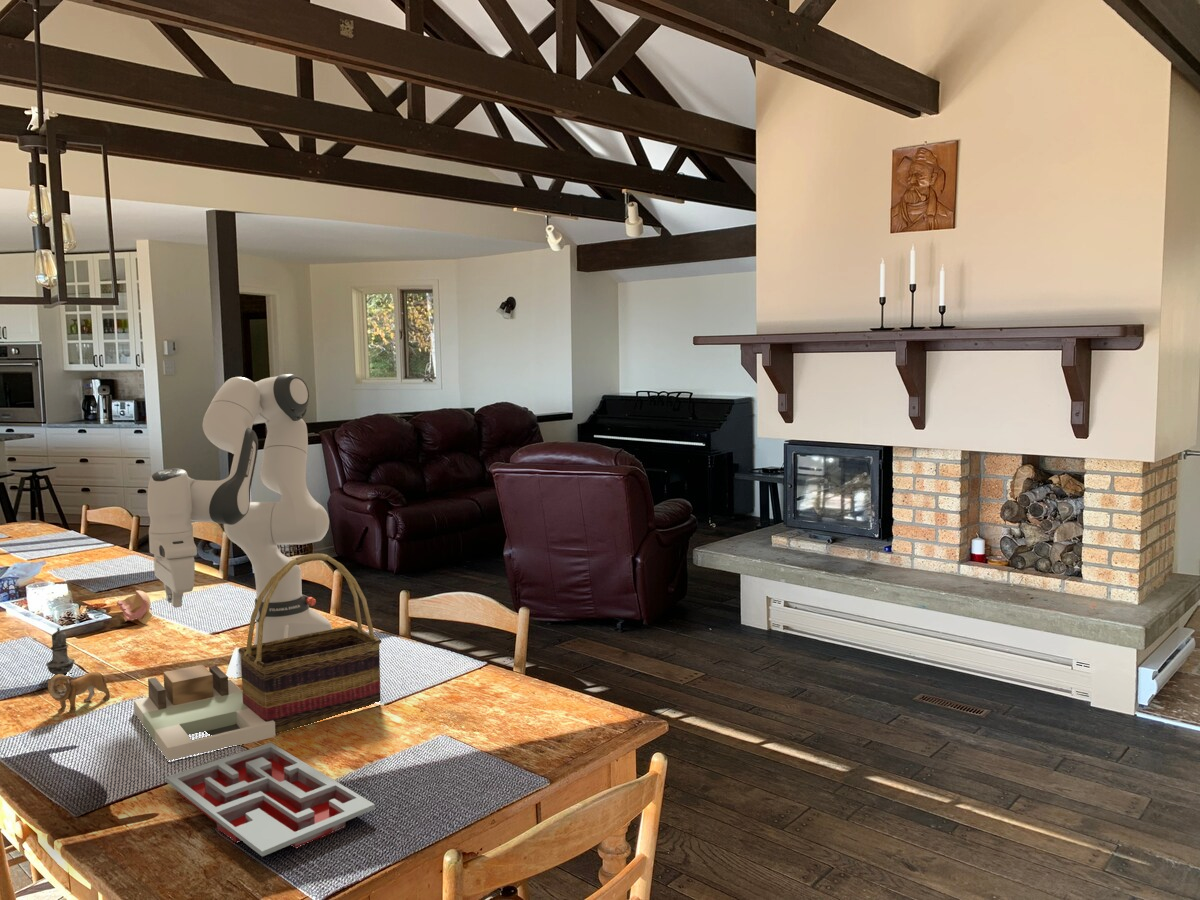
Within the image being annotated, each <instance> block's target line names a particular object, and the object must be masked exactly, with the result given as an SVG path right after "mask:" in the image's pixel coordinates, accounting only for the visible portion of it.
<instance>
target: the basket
mask: <svg viewBox="0 0 1200 900" xmlns="http://www.w3.org/2000/svg"><path fill="white" fill-rule="evenodd" d="M314 561H323V562H326V561H327V562H328V563H331V565H332V566H333V565H334V567H336V568H337V570H338V571H339V572H340V573H341V575H342V576H343V577H344V579H346V582H347V585H348V588H349V589H350V592H351V594H352V596H353V602H354V603H353V604H354V610H355V617H356V625H353V624H352V625H347V626H341V627H336V628H332V629H329V630H324V631H319V632H314V633H309V634H305V635H300V636H295V637H290V638H285V639H281V640H276V641H271V642H266V643H262V637H263V624H264V619H265V615H266V612H267V608H268V604H269V601H270V599H271V597H272V595H273V593H274V591H275V589H276V587H277V585H278V583H279V581H280V580H281V579H282V578H283V577H284V576H285V575H286V574H287V573H288V572H289V570H290V569H291V568H292V567H293V566H294V565H299V566H300V565H302V564H304V563H309V562H314ZM272 584H273V585H272ZM271 586H272V587H271ZM270 587H271V589H270ZM269 589H270V590H269ZM268 590H269V592H268ZM267 592H268V594H267V596H266V598H265V601H264V604H263V608H262V612H261V616H260V619H259V625H258V639H257V644H256V645H254V644H253V640H254V639H253V637H254V631H255V627H256V625H255V624H256V616H257V613H258V611H259V608H260V605H261V603H262V600H263V598H264V596H265V595H266V593H267ZM358 596H359V597H358ZM359 598H360V601H361V603H362V607H363V611H364V616H365V620H366V625H367V629H368V632H367V631H365V630H364V629H363V626H362V616H361V611H360V610H361V609H360V604H359V603H360V602H359ZM249 622H250V623H249V626H248V627H249V628H248V635H247V641H246V646H242V647H240V648H238V653H239V654H240V659H241V660H240V662H241V664H240V665H241V688H242V689H241V690H242V694H243V703H244V704H245V705H246V706H247V707H248V708H250V709H251V710H252V711H253V712H254V713H255V714H257V715H258V716H259V717H260V718H261V719H263V720H264V721H265V722H268V721H274V722H275V735H277V733H278V734H281V733H280V732H282V733H285V732H284V731H286V732H288V731H287V730H289V731H291V730H290V729H293V728H297V727H300V726H304V725H308V724H311V723H314V722H317V721H320V720H323V719H326V718H329V717H332V716H335V715H338V714H341V713H344V712H348V711H352V710H355V709H359V708H362V707H366V706H369V705H371V704H374V703H375V702H379V701H381V700H382V699H381V698H382V697H381V667H380V666H381V665H380V664H381V659H380V658H381V655H380V644H381V643H382V639H380V638H378V637H377V636H375V634H374V629H373V627H374V626H373V623H372V619H371V615H370V610H369V606H368V603H367V598H366V596H365V595H364V593H363V591H362V589H361V587H360V585H359V584H358V582H357V580H356V578H355V577H354V576H353V575H352V574H351V572H350V571H349V570H348V569H347V568H346V567H345V566H344V565H343V564H342V563H341V562H339V561H337V560H336V559H335V558H333V557H331V556H330V555H328V554H326V553H318V552H317V553H308V554H304V555H303V554H302V555H301V556H298V557H296V558H295V559H293V560H292V561H290V562H288V563H287V564H286V565H285V566H284V567H283V568H282V569H281V570H279V571H278V572H277V573H276V574H275V575H274V576H273V577H272V578H271V579H270V581H269V582H268V584H267V585H266V586H265V588H264V589H263V591H262V592H261V594H260V595H259V597H258V600H257V603H256V605H255V604H254V608H253V610H252V613H251V616H250V621H249ZM308 726H309V725H308ZM304 727H305V726H304ZM297 729H298V728H297ZM293 730H294V729H293Z"/></svg>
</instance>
